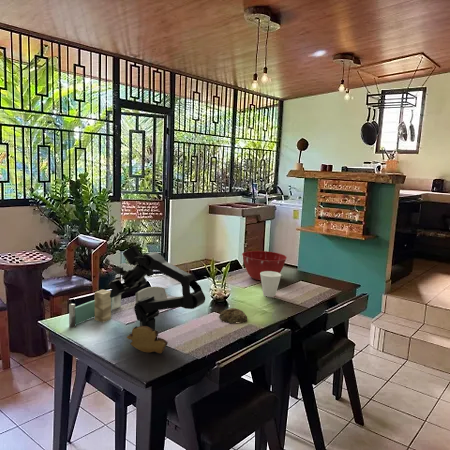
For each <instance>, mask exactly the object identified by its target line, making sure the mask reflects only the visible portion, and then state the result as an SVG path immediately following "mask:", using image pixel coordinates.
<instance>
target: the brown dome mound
mask: <svg viewBox="0 0 450 450" xmlns="http://www.w3.org/2000/svg"><path fill="white" fill-rule="evenodd" d="M219 318H220V321H221V322H222V321H224V322H223V323H228V322H229V324H237V323H236V322H244V323H247V321H248V316H247V314H246V313H245V312H244V311H243V310H241V309H240V308H234V307H232V308H228V309H227V308H226V309H225V310H222V311H221V312H220V313H219Z"/></svg>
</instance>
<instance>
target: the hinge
mask: <svg viewBox="0 0 450 450" xmlns="http://www.w3.org/2000/svg"><path fill="white" fill-rule="evenodd" d="M153 296H154V299H155V300H162V299H168V297H167V293H166V289H165V287H161V286H148V287H145V288H142V289H140V290H138V291H137V292H135V304H136V303H138V301H139V300H142V299H144V298H146V297H153Z"/></svg>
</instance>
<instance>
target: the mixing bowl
mask: <svg viewBox="0 0 450 450" xmlns="http://www.w3.org/2000/svg"><path fill="white" fill-rule="evenodd" d="M241 256H242V260H243V263H244V267H245V270H246V272H247V274H248V275H249V277H251V278H252V279H253V280H255V281H258V280H260V281H259V282H261V276H260V273H261V272H264V271H273V272H278V273H280V274H281V272H282V270H283V268H284V266H285V264H286V260H287V258H288V257H287V255H284V254H282V253H279V252H273V251H267V250H265V251H264V250H250V251H245V252H243V253H242V254H241Z"/></svg>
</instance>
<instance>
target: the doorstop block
mask: <svg viewBox="0 0 450 450" xmlns="http://www.w3.org/2000/svg"><path fill="white" fill-rule="evenodd" d="M111 291H112V290H111ZM111 291H110V290H107V289H100V290H98V291H95V292H94V300H95V317H94V321H96V322H101V323H105V322H108V321H110V320H112V310H111V297H110V293H111Z"/></svg>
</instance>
